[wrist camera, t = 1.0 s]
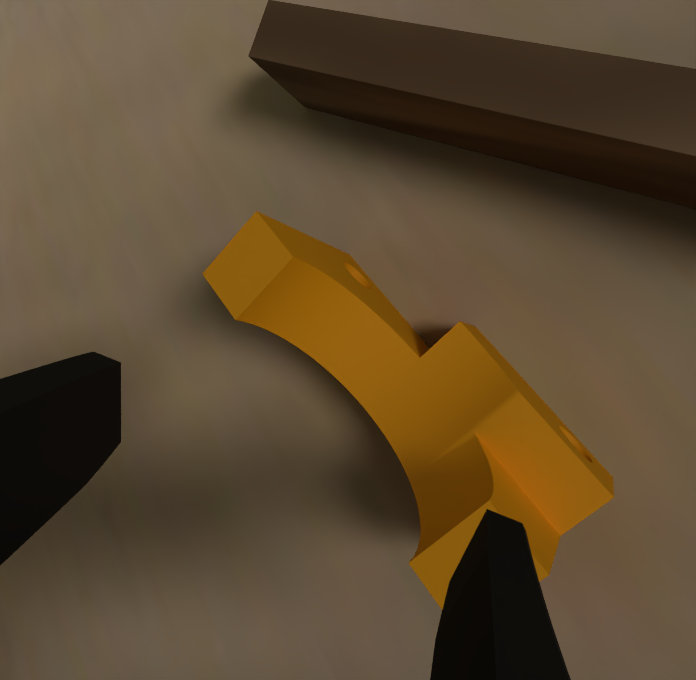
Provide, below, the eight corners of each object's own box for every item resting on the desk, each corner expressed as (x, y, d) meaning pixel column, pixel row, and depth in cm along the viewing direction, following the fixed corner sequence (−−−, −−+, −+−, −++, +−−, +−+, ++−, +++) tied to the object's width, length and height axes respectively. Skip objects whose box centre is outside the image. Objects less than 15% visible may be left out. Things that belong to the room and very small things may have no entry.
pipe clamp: (612, 477, 17) (615, 528, 11) (507, 553, 18) (460, 635, 13) (381, 223, 21) (295, 164, 15) (307, 300, 22) (202, 273, 17)
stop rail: (900, 262, 14) (999, 223, 11) (305, 107, 23) (248, 56, 19) (938, 190, 14) (1052, 126, 11) (322, 60, 22) (268, -1, 19)
